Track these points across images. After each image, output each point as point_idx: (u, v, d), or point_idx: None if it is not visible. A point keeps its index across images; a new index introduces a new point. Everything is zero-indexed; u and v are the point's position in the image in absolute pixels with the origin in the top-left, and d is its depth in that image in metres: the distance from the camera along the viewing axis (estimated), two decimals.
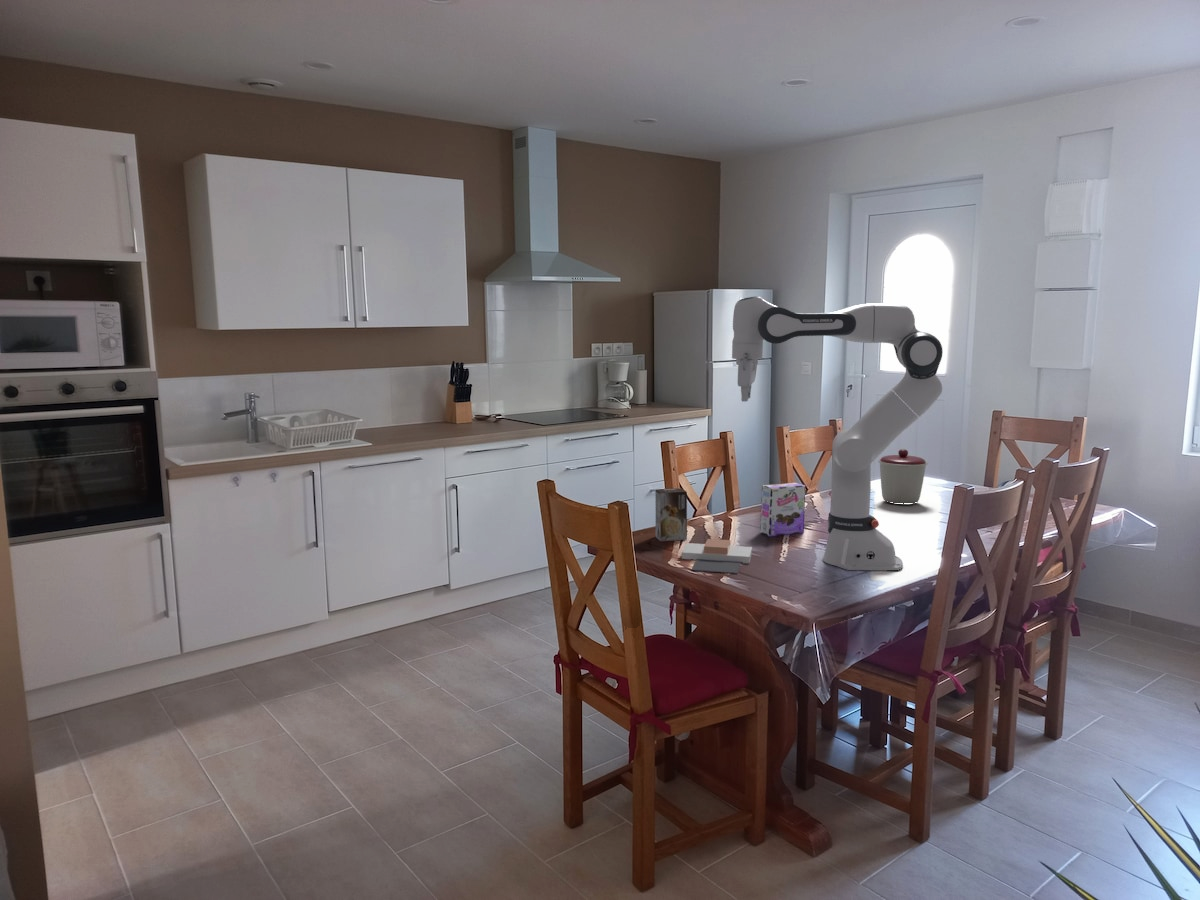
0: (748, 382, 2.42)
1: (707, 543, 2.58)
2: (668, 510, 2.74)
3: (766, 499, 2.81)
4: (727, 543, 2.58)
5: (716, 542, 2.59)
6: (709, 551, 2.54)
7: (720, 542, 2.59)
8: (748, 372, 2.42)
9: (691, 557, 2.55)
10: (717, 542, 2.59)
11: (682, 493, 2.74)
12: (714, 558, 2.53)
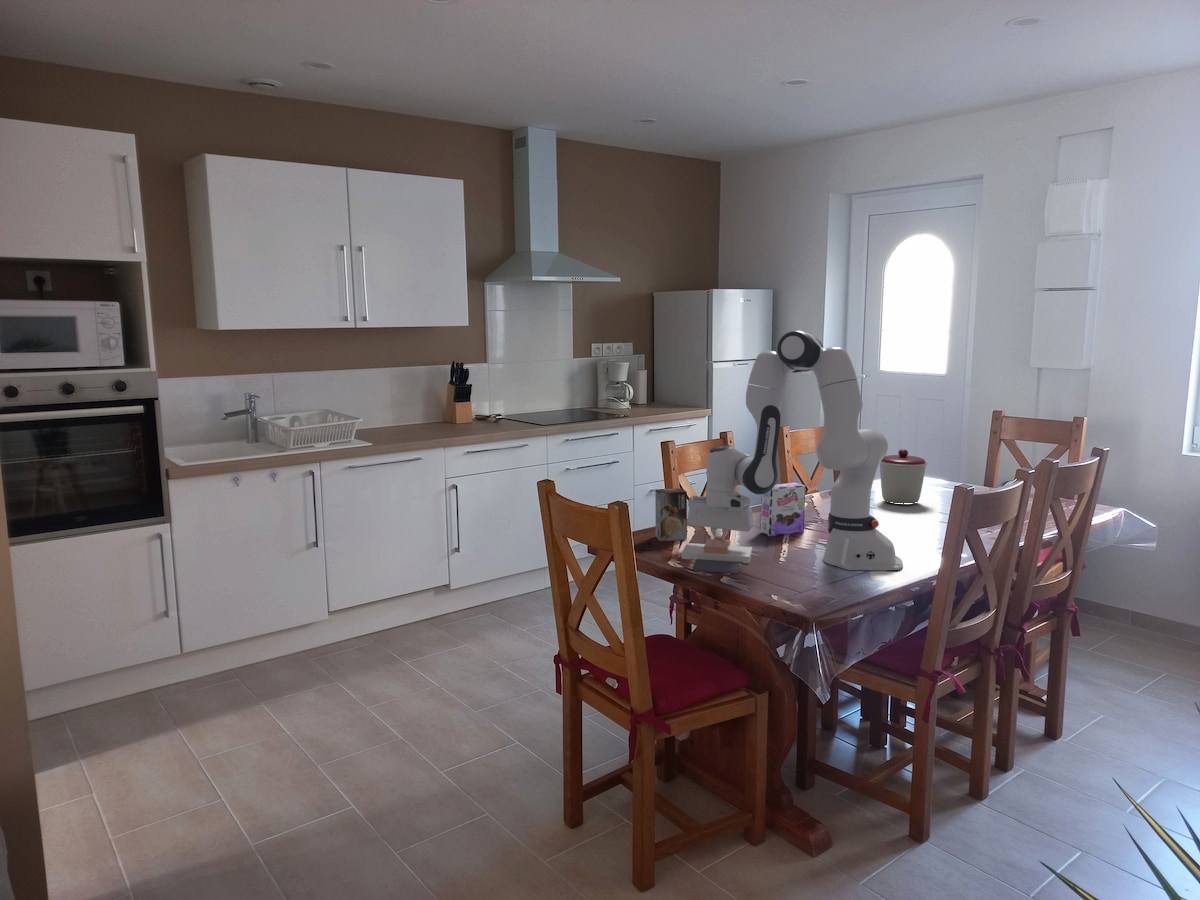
0: None
1: (707, 543, 2.57)
2: (668, 510, 2.74)
3: (766, 499, 2.81)
4: (727, 543, 2.57)
5: (716, 542, 2.58)
6: (709, 551, 2.54)
7: (720, 542, 2.59)
8: None
9: (691, 557, 2.55)
10: (717, 542, 2.59)
11: (682, 493, 2.74)
12: (714, 558, 2.53)
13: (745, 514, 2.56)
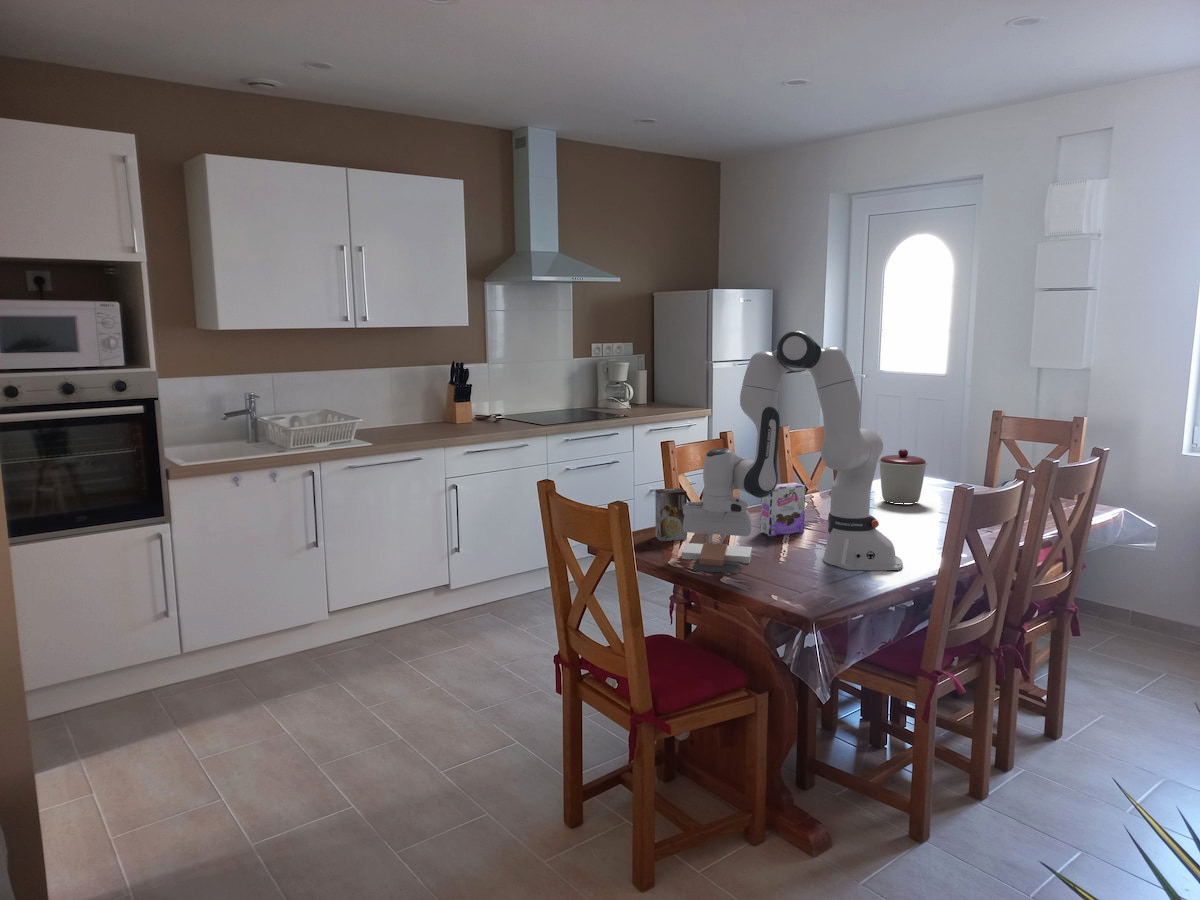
0: (683, 527, 2.57)
1: (703, 552, 2.51)
2: (668, 510, 2.74)
3: (766, 499, 2.81)
4: (723, 551, 2.50)
5: (712, 549, 2.51)
6: (704, 563, 2.48)
7: (716, 549, 2.51)
8: None
9: (691, 557, 2.55)
10: (713, 549, 2.51)
11: (682, 493, 2.74)
12: None
13: (745, 518, 2.50)
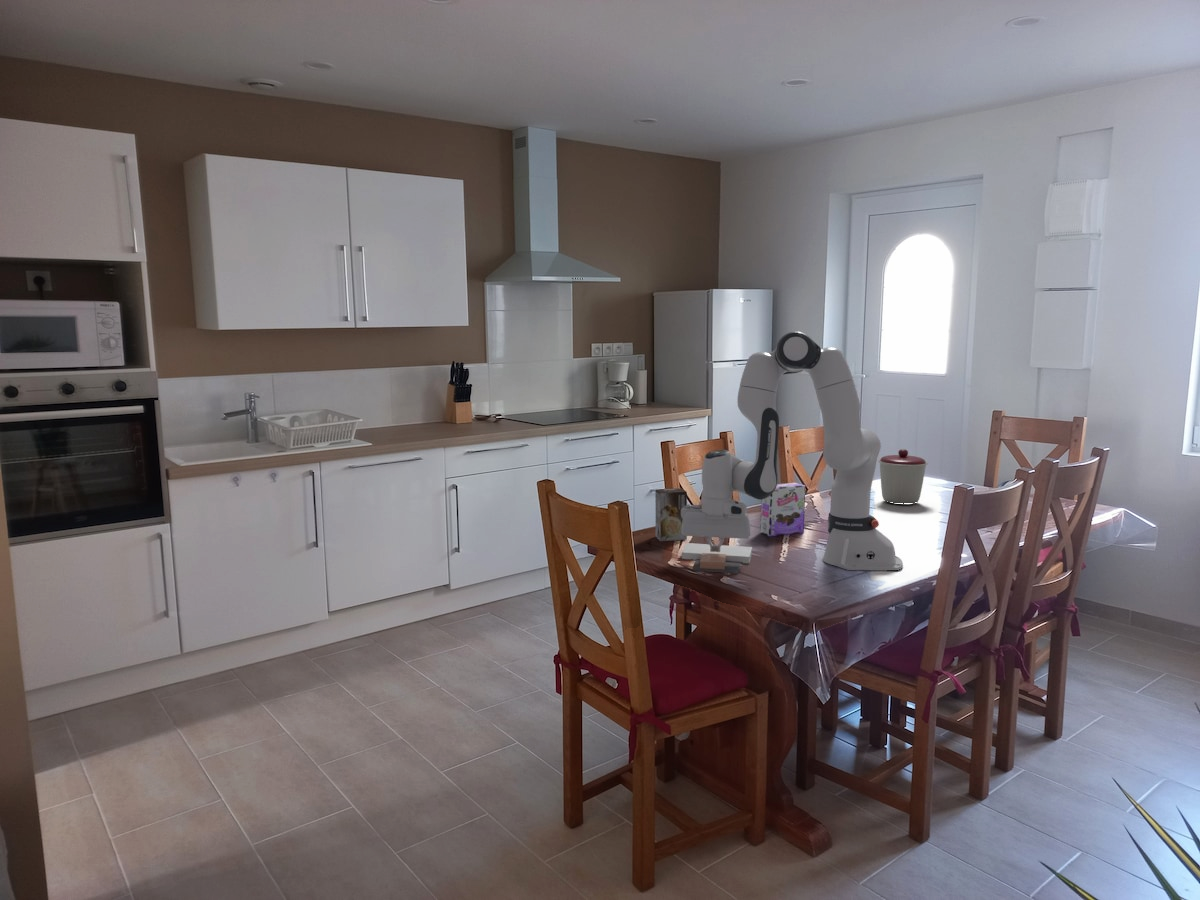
0: (681, 531, 2.52)
1: (703, 558, 2.48)
2: (668, 510, 2.74)
3: (766, 499, 2.81)
4: (723, 557, 2.48)
5: (712, 556, 2.49)
6: (705, 566, 2.44)
7: (716, 556, 2.49)
8: (682, 522, 2.52)
9: (691, 557, 2.55)
10: (713, 556, 2.49)
11: (682, 493, 2.74)
12: None
13: (745, 521, 2.47)
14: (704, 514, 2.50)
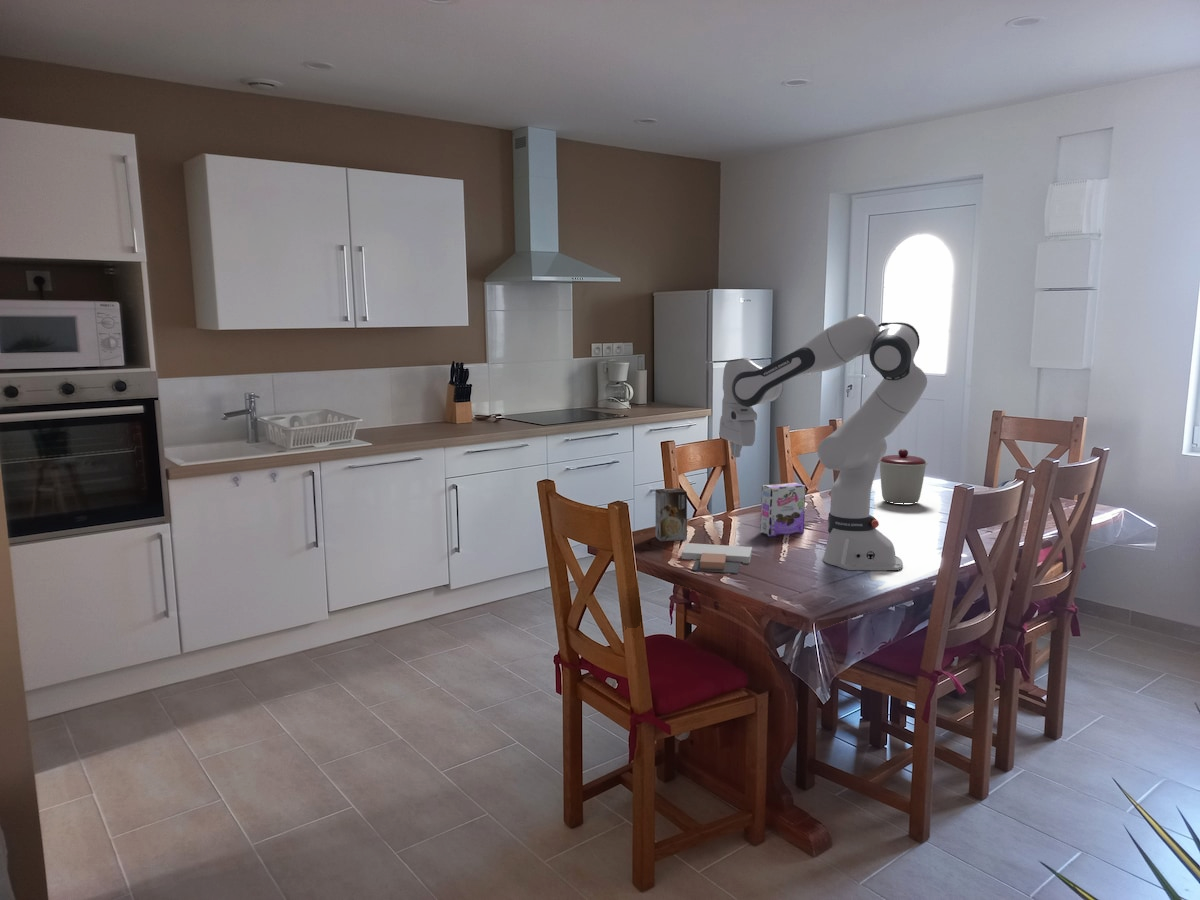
0: None
1: (703, 558, 2.48)
2: (668, 510, 2.74)
3: (766, 499, 2.81)
4: (723, 557, 2.48)
5: (712, 556, 2.49)
6: (705, 566, 2.44)
7: (716, 556, 2.49)
8: None
9: (691, 557, 2.55)
10: (713, 556, 2.49)
11: (682, 493, 2.74)
12: None
13: (739, 427, 2.52)
14: None
